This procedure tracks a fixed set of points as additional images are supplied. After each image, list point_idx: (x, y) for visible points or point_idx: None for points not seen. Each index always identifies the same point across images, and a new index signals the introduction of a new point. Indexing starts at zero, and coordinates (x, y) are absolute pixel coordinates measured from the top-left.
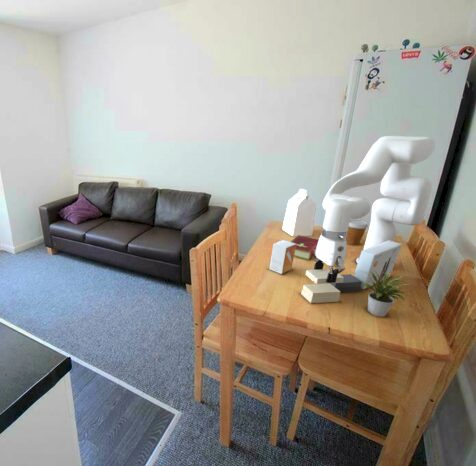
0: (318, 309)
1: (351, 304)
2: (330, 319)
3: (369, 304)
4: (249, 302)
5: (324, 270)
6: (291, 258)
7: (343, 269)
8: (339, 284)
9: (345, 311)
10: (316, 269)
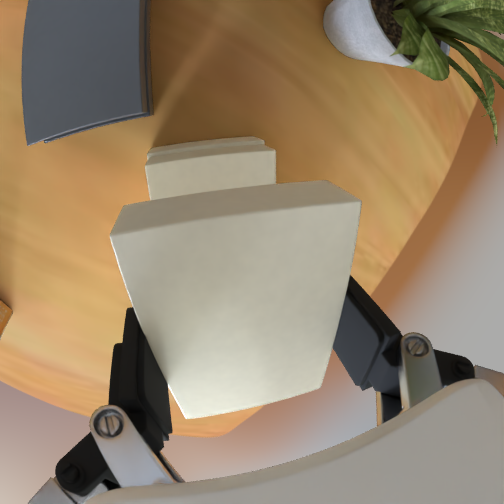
0: None
1: (286, 85)
2: (364, 250)
3: (376, 60)
4: (240, 412)
5: (175, 329)
6: None
7: (497, 381)
8: (142, 80)
9: (336, 159)
10: (163, 377)
